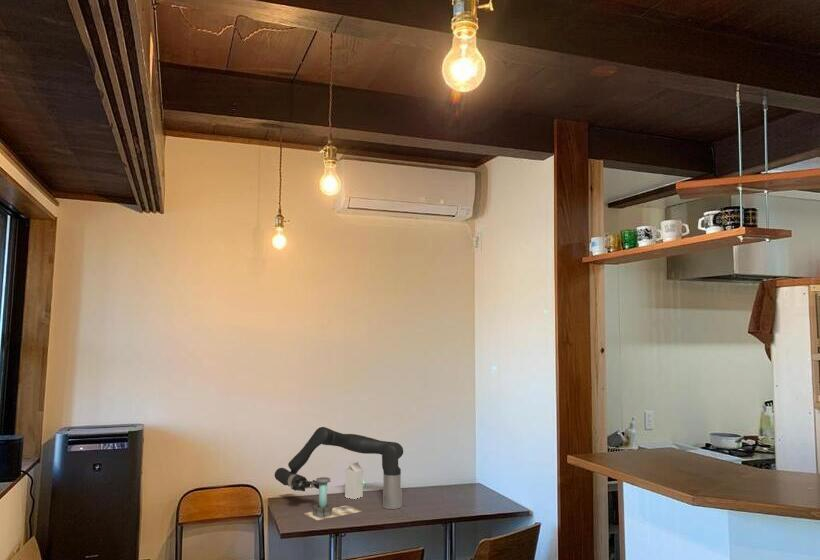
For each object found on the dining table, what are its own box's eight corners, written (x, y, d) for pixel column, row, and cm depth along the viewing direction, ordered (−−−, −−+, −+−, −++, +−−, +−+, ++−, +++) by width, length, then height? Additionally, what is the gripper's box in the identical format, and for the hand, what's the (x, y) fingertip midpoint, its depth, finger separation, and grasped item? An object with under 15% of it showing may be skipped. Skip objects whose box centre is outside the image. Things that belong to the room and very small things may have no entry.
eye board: (347, 508, 319) (347, 497, 319) (362, 514, 308) (362, 503, 308) (303, 516, 303) (303, 505, 304) (316, 523, 292) (317, 511, 293)
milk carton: (362, 497, 341) (363, 462, 343) (354, 499, 335) (355, 464, 337) (352, 495, 345) (353, 461, 347) (344, 497, 339) (345, 463, 341)
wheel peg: (325, 511, 307) (325, 476, 308) (332, 514, 301) (332, 479, 303) (312, 513, 303) (313, 478, 304) (319, 517, 297) (320, 481, 299)
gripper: (285, 476, 321) (299, 482, 308) (309, 473, 330) (324, 478, 317) (285, 491, 320) (299, 497, 307) (309, 487, 329) (323, 493, 316)
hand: (311, 488), depth 312 cm, fingers open, 8 cm apart
